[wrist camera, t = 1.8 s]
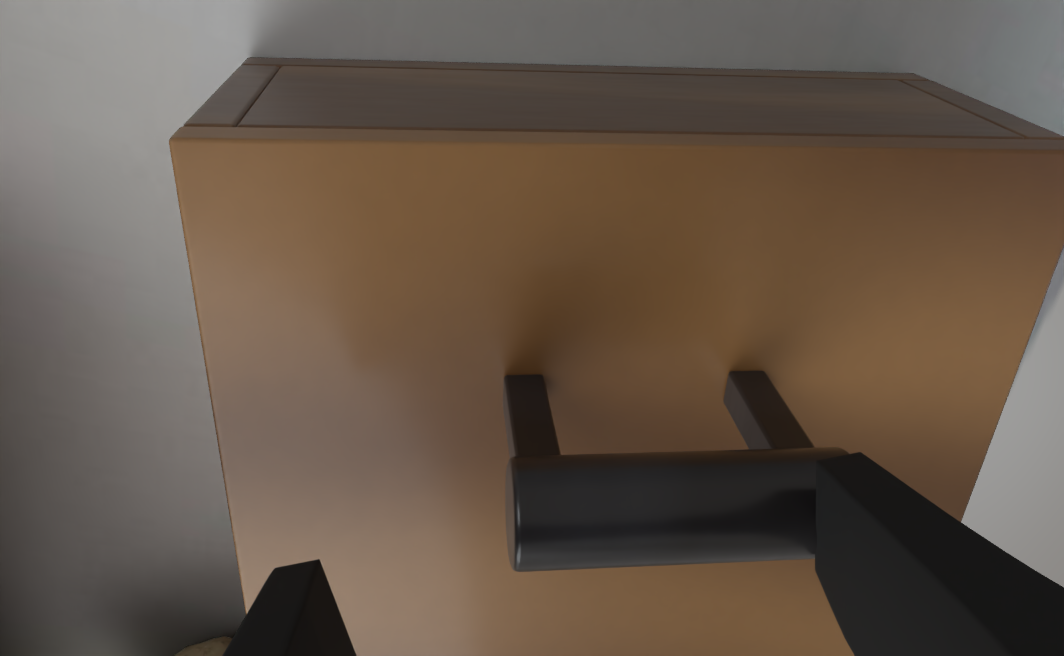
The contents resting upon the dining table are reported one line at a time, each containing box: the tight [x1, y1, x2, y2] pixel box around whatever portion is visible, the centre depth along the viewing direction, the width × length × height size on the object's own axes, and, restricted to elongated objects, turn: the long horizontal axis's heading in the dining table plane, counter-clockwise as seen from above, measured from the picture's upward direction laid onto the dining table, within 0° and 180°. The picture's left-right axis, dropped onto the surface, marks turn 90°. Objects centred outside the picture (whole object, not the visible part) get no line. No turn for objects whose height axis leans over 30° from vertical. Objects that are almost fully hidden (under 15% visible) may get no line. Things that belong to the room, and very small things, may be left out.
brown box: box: [169, 127, 1064, 656], centre depth 14 cm, size 12×15×5 cm
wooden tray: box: [183, 57, 1064, 140], centre depth 19 cm, size 12×15×5 cm
